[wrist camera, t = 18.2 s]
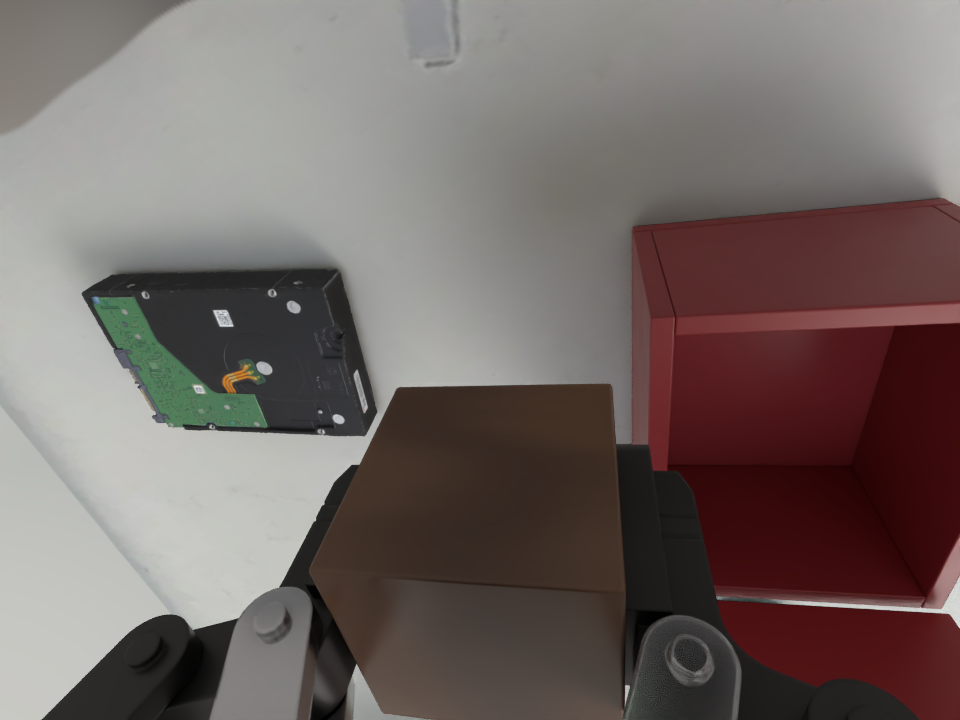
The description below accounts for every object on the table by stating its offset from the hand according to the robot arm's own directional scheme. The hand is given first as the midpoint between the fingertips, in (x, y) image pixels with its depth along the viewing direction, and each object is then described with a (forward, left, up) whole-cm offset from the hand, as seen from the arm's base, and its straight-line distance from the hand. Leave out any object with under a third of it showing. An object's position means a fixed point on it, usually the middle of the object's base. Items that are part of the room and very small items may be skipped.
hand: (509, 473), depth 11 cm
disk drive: (-14, -14, -17) cm, 26 cm away
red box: (+13, -3, -17) cm, 21 cm away
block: (0, 0, 0) cm, 0 cm away
